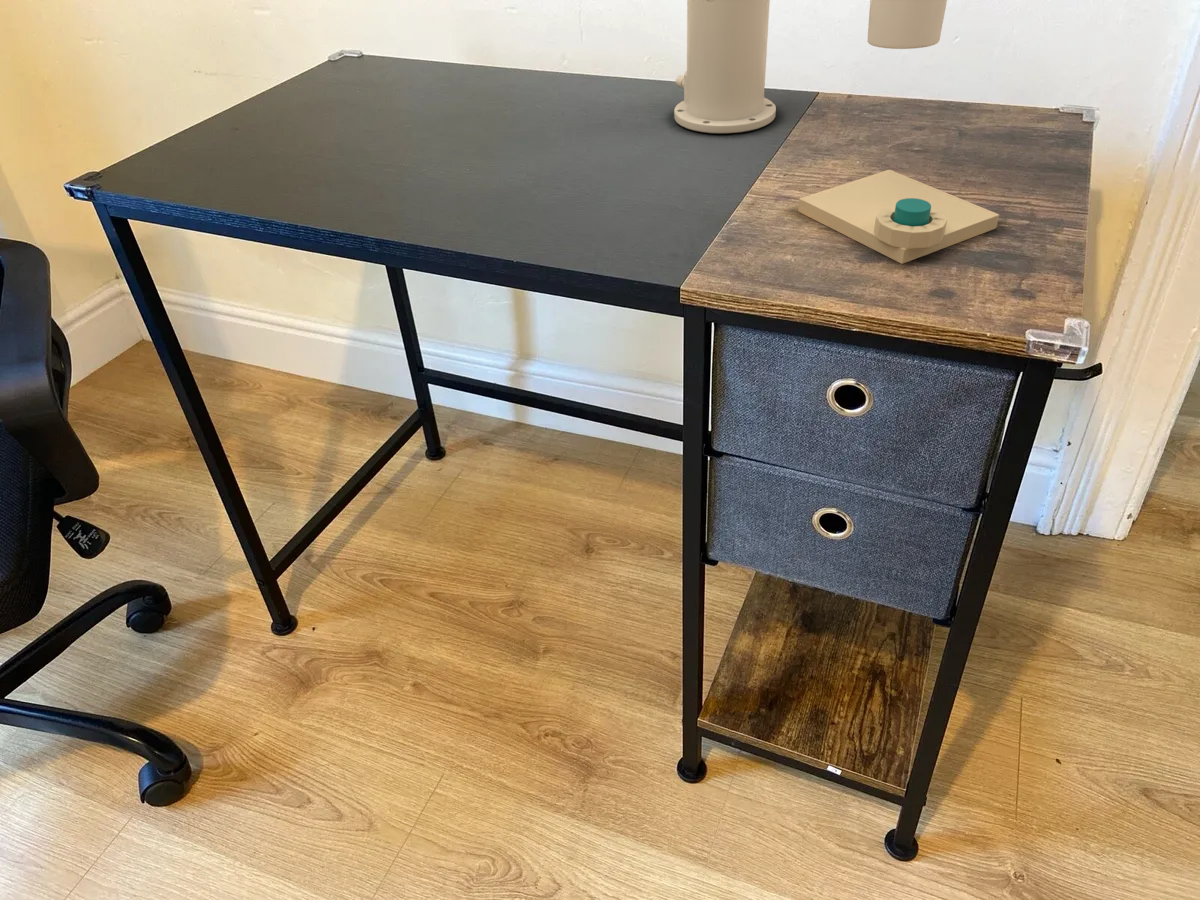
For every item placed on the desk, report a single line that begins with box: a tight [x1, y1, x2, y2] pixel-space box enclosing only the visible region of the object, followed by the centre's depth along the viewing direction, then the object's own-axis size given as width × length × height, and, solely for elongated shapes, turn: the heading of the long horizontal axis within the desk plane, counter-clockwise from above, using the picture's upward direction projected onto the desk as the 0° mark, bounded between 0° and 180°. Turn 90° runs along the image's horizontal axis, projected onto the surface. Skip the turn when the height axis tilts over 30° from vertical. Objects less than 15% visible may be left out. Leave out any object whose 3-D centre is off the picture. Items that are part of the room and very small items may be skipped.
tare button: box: [893, 198, 931, 227], centre depth 78 cm, size 3×3×2 cm
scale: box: [797, 169, 1000, 265], centre depth 83 cm, size 15×12×3 cm
